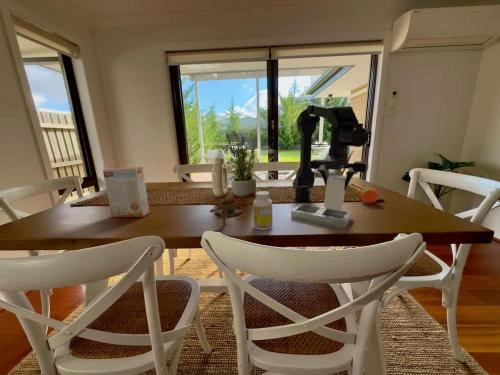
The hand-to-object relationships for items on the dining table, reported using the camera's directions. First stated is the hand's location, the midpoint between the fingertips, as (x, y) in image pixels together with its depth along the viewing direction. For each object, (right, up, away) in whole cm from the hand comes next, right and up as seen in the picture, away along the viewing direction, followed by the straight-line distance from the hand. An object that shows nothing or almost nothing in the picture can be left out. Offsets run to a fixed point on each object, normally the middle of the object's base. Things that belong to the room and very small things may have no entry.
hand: (335, 189), depth 78 cm
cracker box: (-83, -12, +17) cm, 85 cm away
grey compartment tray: (-4, -11, +6) cm, 13 cm away
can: (0, -7, +2) cm, 7 cm away
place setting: (-42, -12, +13) cm, 46 cm away
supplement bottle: (-26, -14, 0) cm, 30 cm away
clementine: (+23, -7, +21) cm, 31 cm away
